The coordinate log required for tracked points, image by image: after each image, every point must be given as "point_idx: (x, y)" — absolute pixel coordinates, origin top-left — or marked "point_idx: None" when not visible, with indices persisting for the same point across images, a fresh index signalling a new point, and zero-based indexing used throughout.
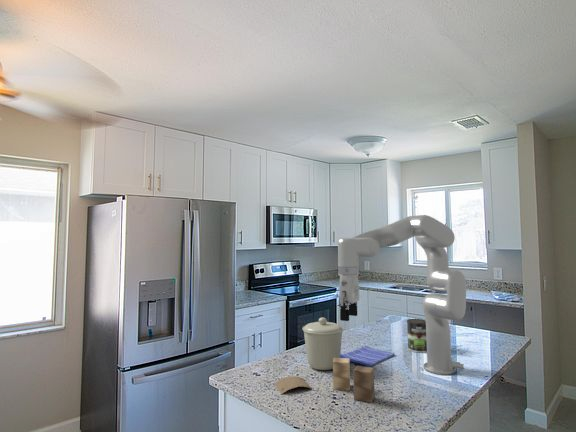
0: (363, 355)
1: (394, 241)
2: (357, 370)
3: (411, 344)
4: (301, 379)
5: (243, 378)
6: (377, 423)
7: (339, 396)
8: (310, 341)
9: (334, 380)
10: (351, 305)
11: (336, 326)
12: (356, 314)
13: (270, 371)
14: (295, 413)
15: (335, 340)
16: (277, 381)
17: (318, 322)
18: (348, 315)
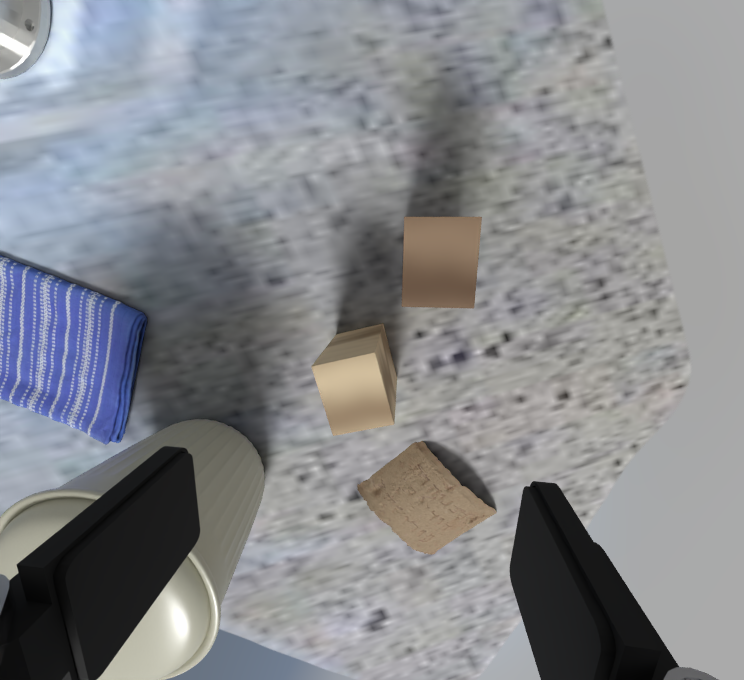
0: (36, 356)
1: None
2: (469, 288)
3: None
4: (381, 493)
5: (424, 639)
6: (611, 167)
7: (444, 344)
8: (229, 583)
9: (395, 385)
10: (84, 647)
11: None
12: (180, 459)
13: (339, 594)
14: (612, 433)
15: None
16: (424, 552)
17: None
18: (591, 543)
